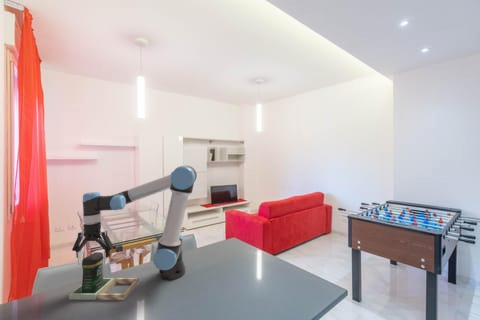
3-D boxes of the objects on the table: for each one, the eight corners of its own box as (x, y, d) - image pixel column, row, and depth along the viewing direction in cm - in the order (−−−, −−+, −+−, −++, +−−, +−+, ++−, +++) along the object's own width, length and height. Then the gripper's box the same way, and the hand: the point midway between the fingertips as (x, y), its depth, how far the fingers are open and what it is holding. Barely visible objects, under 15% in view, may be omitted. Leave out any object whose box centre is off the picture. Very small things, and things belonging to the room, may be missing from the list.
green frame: (113, 282, 123) (113, 278, 123) (95, 299, 108) (95, 294, 108) (90, 282, 123) (90, 277, 123) (69, 299, 108) (69, 294, 108)
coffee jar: (94, 296, 111) (93, 258, 111) (78, 296, 111) (78, 258, 111) (106, 285, 120) (106, 250, 120) (92, 285, 121) (91, 250, 121)
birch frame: (138, 282, 123) (138, 278, 123) (123, 299, 108) (123, 294, 108) (115, 282, 123) (115, 278, 123) (97, 299, 108) (97, 294, 108)
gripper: (120, 220, 119) (121, 259, 119) (74, 221, 120) (75, 260, 120) (111, 224, 112) (112, 266, 112) (62, 225, 112) (64, 267, 112)
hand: (93, 263), depth 116 cm, fingers open, 13 cm apart
